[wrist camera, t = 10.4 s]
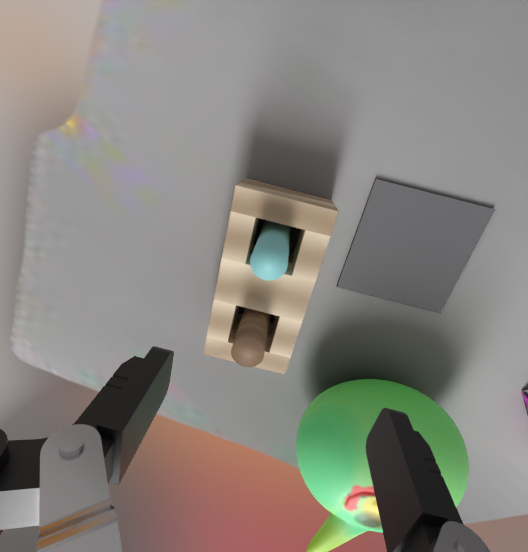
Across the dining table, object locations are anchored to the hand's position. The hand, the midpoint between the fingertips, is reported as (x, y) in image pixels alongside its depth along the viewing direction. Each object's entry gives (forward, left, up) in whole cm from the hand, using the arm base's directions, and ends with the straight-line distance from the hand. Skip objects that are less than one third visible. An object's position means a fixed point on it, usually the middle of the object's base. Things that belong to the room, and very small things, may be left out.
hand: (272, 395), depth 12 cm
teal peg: (0, -1, -24) cm, 24 cm away
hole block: (+5, -1, -24) cm, 25 cm away
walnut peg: (+9, -1, -24) cm, 26 cm away
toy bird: (+21, +16, -24) cm, 36 cm away
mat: (-1, +13, -24) cm, 27 cm away
